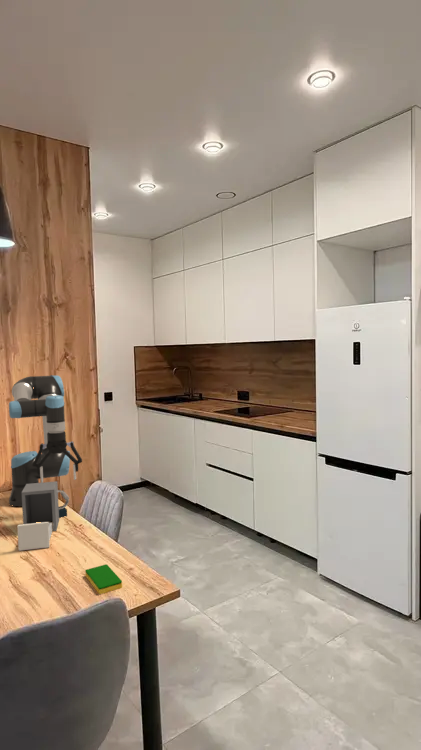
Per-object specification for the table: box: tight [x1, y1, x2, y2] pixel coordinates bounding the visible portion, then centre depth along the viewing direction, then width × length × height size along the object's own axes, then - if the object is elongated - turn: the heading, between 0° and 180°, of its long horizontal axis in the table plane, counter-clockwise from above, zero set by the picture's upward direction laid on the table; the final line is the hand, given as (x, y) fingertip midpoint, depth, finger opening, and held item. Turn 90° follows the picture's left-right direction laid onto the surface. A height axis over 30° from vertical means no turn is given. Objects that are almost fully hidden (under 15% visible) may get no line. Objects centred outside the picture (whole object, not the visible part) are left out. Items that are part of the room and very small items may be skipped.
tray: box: [17, 522, 53, 552], centre depth 178 cm, size 16×10×9 cm, turn 13°
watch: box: [58, 489, 70, 519], centre depth 205 cm, size 6×8×11 cm
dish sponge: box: [85, 564, 123, 595], centre depth 146 cm, size 7×14×2 cm, turn 32°
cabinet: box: [21, 480, 60, 532], centre depth 192 cm, size 12×12×17 cm
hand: (58, 480), depth 204 cm, fingers open, 13 cm apart
